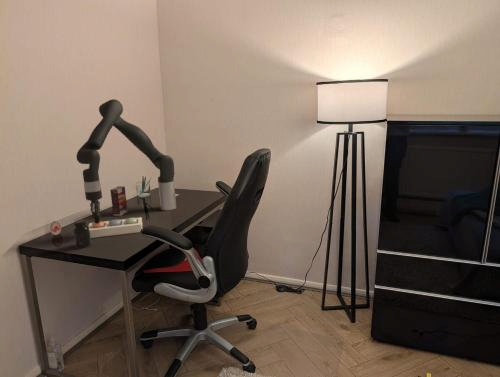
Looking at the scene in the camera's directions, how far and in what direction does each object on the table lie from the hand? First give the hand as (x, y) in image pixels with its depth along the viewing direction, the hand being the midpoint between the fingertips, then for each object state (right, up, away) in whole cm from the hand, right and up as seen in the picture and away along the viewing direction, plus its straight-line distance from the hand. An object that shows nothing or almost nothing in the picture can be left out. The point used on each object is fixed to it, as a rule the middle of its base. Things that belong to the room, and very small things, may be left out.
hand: (97, 222), depth 179 cm
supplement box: (0, +2, +32) cm, 33 cm away
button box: (+8, -5, +3) cm, 10 cm away
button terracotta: (0, -3, +1) cm, 3 cm away
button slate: (+8, -2, +3) cm, 9 cm away
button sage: (+16, -1, +5) cm, 16 cm away
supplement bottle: (0, -9, -14) cm, 17 cm away
